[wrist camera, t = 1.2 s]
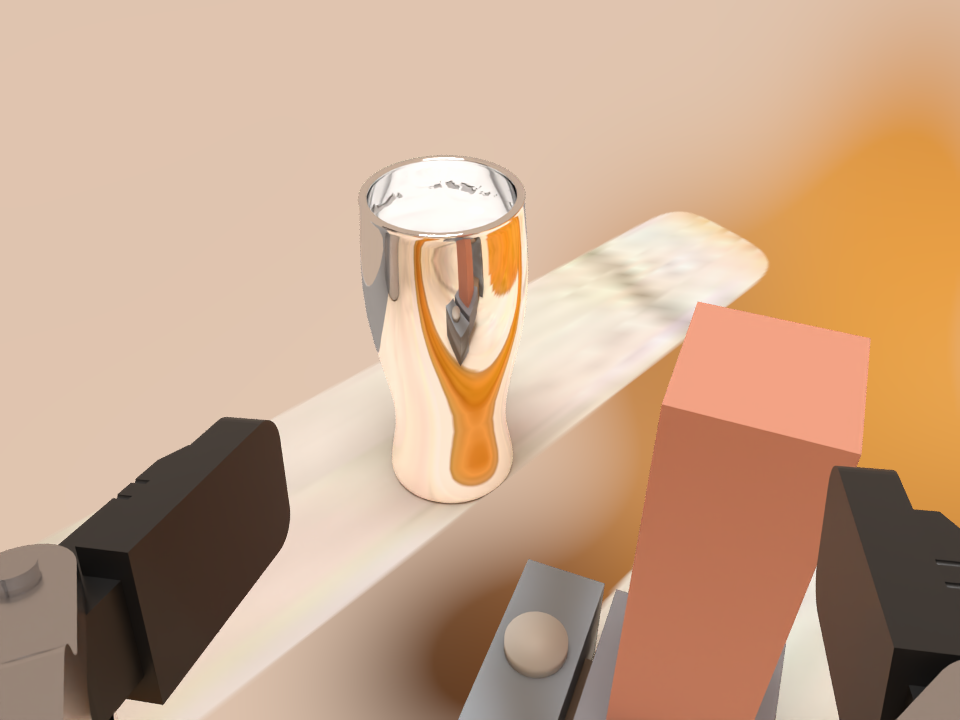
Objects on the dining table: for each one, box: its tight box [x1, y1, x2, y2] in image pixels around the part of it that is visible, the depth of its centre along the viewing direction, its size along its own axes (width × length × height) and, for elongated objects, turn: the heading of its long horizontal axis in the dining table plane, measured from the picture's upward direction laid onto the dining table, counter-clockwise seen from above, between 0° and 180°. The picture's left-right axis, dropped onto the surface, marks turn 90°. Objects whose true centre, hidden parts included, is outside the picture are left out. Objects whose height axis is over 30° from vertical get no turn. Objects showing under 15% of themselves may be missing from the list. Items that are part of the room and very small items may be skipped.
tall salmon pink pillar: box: [573, 302, 870, 720], centre depth 24 cm, size 6×6×17 cm
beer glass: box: [358, 155, 528, 503], centre depth 38 cm, size 7×7×15 cm
